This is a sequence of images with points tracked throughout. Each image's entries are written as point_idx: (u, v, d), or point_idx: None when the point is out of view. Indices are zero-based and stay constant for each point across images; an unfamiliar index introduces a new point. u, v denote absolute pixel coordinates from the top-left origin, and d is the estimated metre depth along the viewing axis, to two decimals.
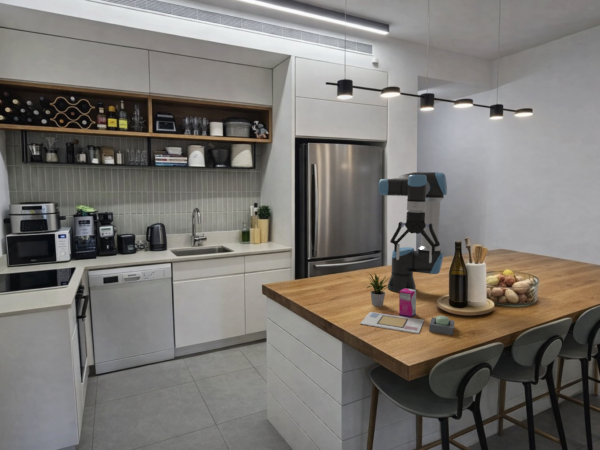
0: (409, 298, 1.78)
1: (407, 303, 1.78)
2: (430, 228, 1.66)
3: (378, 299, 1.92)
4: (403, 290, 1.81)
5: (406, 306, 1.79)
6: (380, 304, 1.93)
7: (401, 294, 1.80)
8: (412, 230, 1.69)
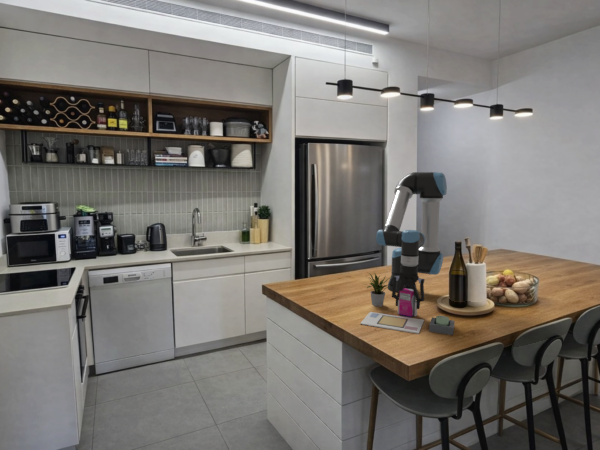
0: (409, 298, 1.78)
1: (407, 303, 1.78)
2: (421, 283, 1.77)
3: (378, 299, 1.92)
4: (403, 290, 1.81)
5: (406, 306, 1.79)
6: (380, 304, 1.93)
7: (401, 294, 1.80)
8: (406, 282, 1.80)
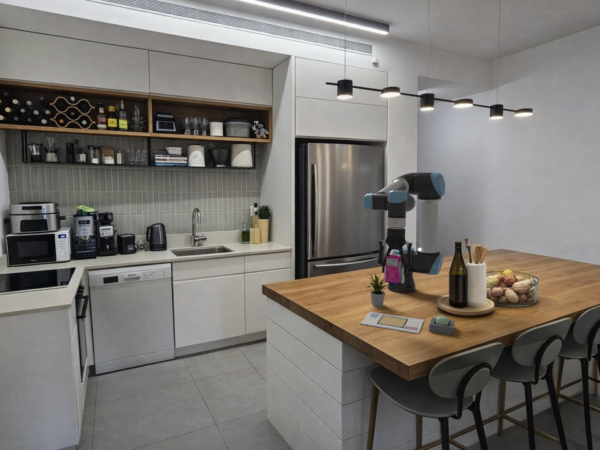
0: (396, 263, 1.65)
1: (394, 268, 1.66)
2: (409, 247, 1.65)
3: (378, 299, 1.92)
4: (390, 255, 1.68)
5: (393, 272, 1.67)
6: (380, 304, 1.93)
7: (388, 259, 1.68)
8: (392, 246, 1.67)
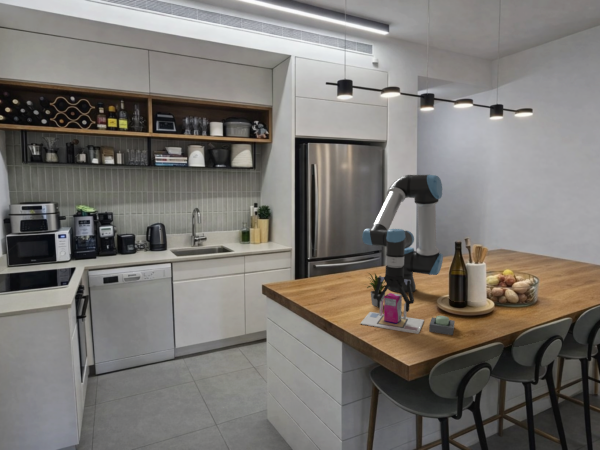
0: (395, 303, 1.68)
1: (393, 308, 1.68)
2: (408, 285, 1.66)
3: None
4: (388, 295, 1.71)
5: (391, 312, 1.69)
6: None
7: (386, 299, 1.70)
8: (391, 284, 1.69)
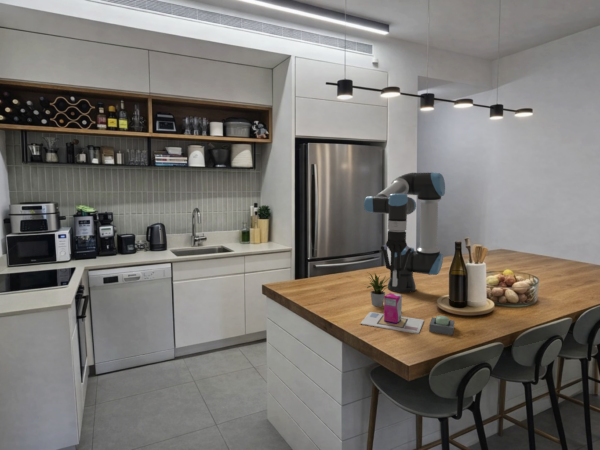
0: (395, 303, 1.68)
1: (393, 309, 1.68)
2: (407, 252, 1.65)
3: (378, 299, 1.92)
4: (388, 295, 1.71)
5: (391, 312, 1.69)
6: (380, 304, 1.93)
7: (386, 299, 1.70)
8: None
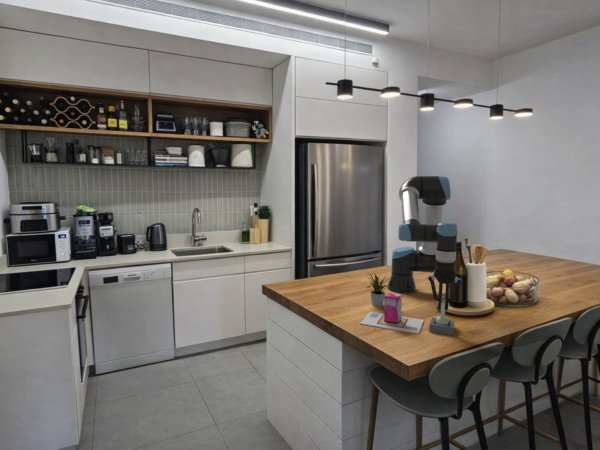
0: (395, 303, 1.68)
1: (393, 309, 1.68)
2: (457, 283, 1.59)
3: (378, 299, 1.92)
4: (388, 295, 1.71)
5: (391, 312, 1.69)
6: (380, 304, 1.93)
7: (386, 299, 1.70)
8: None
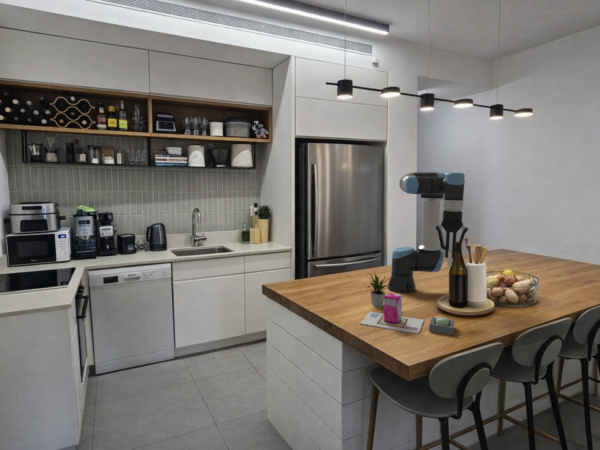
0: (395, 303, 1.68)
1: (393, 309, 1.68)
2: (464, 231, 1.64)
3: (378, 299, 1.92)
4: (388, 295, 1.71)
5: (391, 312, 1.69)
6: (380, 304, 1.93)
7: (386, 299, 1.70)
8: None
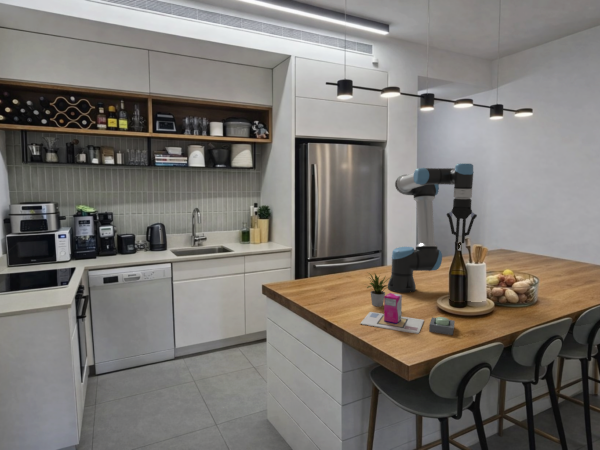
0: (395, 303, 1.68)
1: (393, 309, 1.68)
2: (473, 218, 1.77)
3: (378, 299, 1.92)
4: (388, 295, 1.71)
5: (391, 312, 1.69)
6: (380, 304, 1.93)
7: (386, 299, 1.70)
8: None
